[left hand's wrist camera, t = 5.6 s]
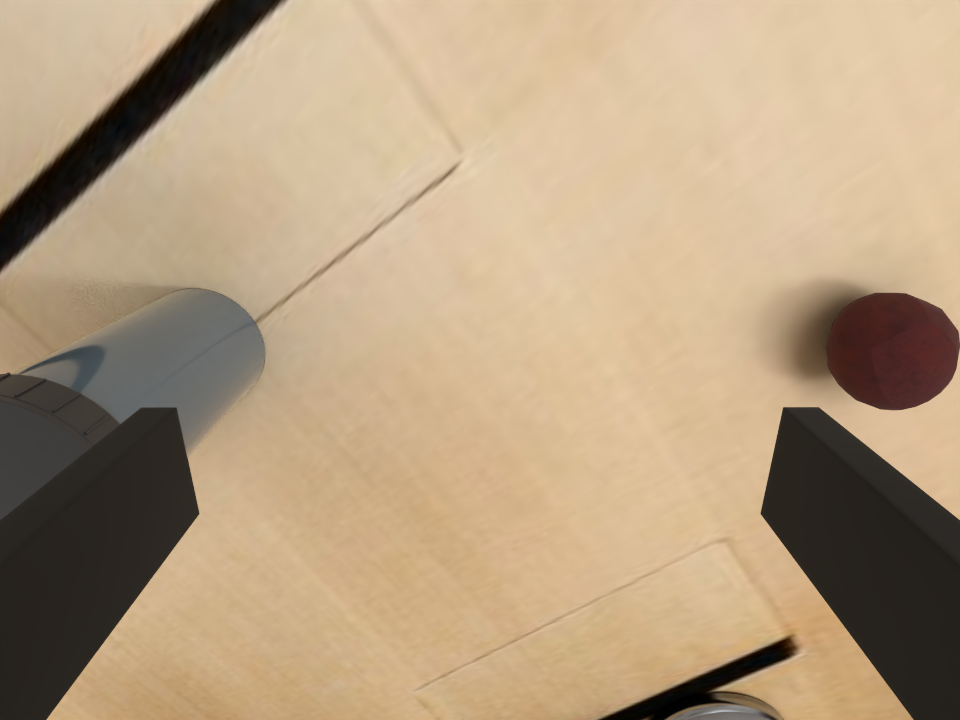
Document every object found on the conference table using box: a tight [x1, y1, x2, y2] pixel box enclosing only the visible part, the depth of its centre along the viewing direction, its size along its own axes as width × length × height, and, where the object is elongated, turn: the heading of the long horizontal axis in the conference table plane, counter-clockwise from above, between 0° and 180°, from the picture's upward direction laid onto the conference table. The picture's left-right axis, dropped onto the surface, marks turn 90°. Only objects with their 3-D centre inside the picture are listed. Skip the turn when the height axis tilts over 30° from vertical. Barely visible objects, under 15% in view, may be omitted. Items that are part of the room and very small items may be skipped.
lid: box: [0, 373, 120, 520], centre depth 25 cm, size 10×10×2 cm
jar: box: [11, 288, 265, 458], centre depth 33 cm, size 9×9×18 cm
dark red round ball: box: [826, 293, 960, 410], centre depth 38 cm, size 7×8×7 cm
